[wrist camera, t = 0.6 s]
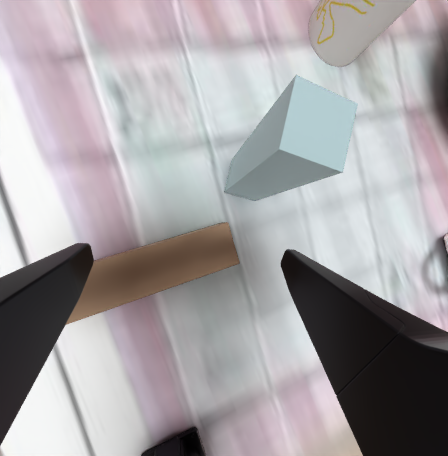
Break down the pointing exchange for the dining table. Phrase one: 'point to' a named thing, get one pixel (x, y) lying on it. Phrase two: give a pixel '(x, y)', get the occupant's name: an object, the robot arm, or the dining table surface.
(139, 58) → the dining table surface
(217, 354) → the dining table surface
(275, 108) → the post
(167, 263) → the beam
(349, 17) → the white cylinder
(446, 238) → the mug
